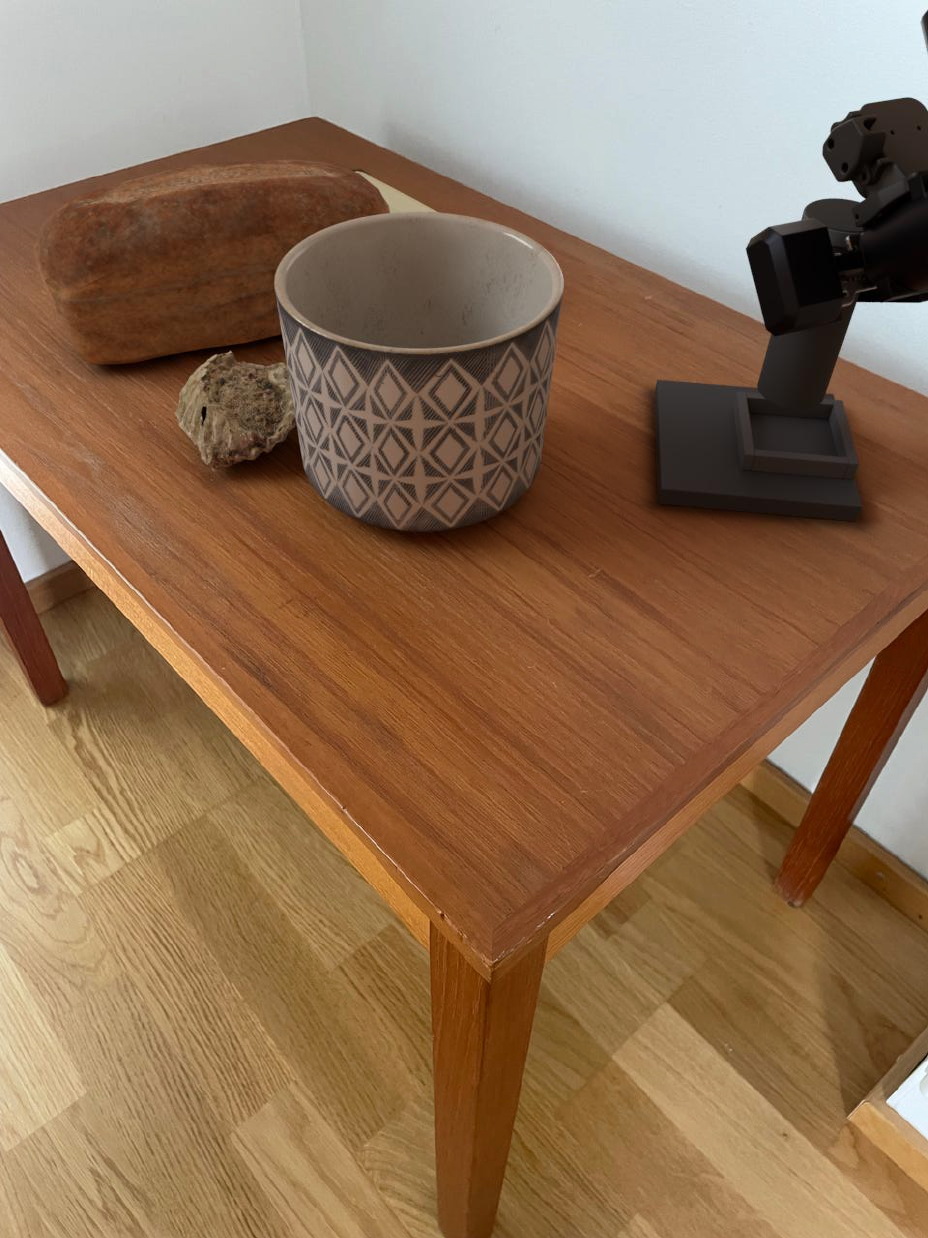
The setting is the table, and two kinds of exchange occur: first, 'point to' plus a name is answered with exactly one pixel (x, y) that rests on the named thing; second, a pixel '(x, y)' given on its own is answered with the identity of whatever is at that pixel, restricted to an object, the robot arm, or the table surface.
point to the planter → (420, 365)
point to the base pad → (753, 453)
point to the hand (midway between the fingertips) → (804, 300)
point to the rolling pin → (395, 196)
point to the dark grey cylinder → (810, 355)
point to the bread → (187, 253)
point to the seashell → (236, 409)
